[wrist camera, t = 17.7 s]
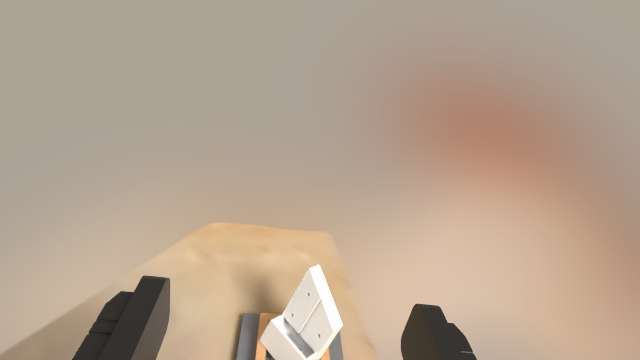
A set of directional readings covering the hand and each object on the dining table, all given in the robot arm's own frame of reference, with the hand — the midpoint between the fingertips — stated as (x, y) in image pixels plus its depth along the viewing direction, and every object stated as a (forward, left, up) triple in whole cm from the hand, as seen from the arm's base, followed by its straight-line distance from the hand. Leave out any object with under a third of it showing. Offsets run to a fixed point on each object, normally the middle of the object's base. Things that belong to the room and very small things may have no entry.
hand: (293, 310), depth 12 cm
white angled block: (+3, +19, -26) cm, 33 cm away
